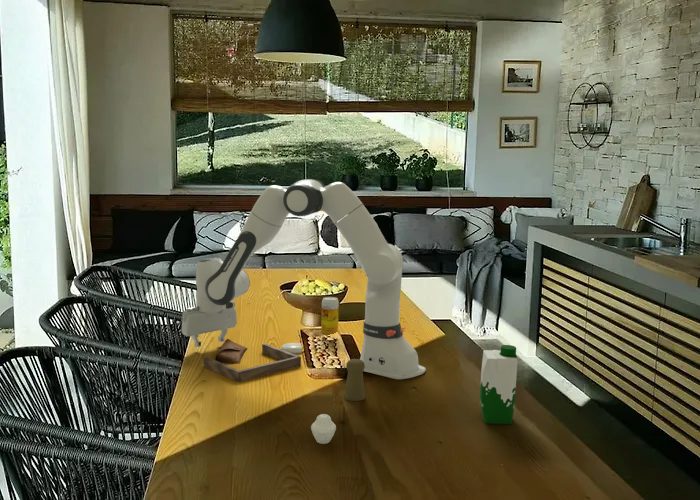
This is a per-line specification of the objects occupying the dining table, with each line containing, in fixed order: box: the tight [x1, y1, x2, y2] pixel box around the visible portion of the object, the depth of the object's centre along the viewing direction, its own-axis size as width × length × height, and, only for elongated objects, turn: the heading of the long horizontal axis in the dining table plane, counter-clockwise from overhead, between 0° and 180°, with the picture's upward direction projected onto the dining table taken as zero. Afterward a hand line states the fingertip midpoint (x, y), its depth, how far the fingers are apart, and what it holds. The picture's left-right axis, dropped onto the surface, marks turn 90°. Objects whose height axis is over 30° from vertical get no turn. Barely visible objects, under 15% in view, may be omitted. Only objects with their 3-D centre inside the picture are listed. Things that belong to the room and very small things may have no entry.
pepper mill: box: [343, 358, 366, 402], centre depth 214 cm, size 6×6×11 cm
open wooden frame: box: [202, 343, 302, 383], centre depth 240 cm, size 19×24×3 cm
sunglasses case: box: [214, 338, 248, 365], centre depth 250 cm, size 18×7×7 cm, turn 1°
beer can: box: [320, 296, 340, 335], centre depth 272 cm, size 6×6×15 cm
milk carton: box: [479, 344, 519, 425], centre depth 200 cm, size 9×9×20 cm
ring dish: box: [281, 342, 302, 355], centre depth 258 cm, size 8×8×2 cm
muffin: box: [310, 413, 337, 445], centre depth 184 cm, size 6×6×7 cm
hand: (209, 344), depth 257 cm, fingers open, 8 cm apart
